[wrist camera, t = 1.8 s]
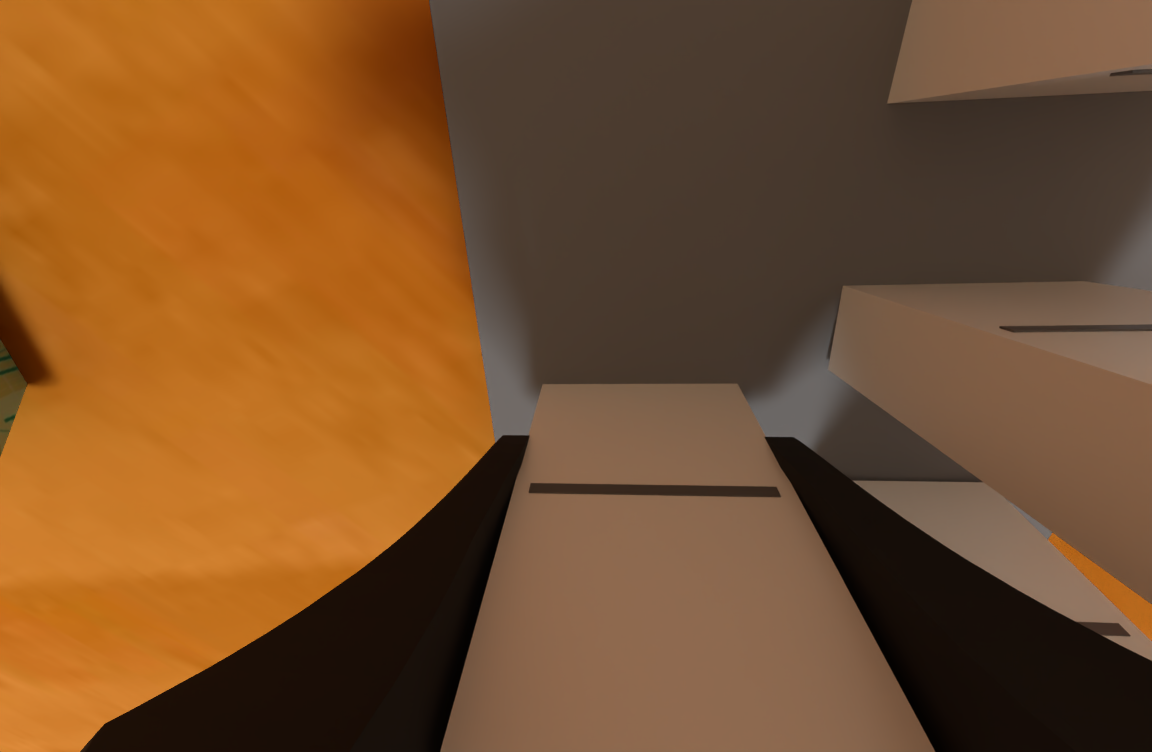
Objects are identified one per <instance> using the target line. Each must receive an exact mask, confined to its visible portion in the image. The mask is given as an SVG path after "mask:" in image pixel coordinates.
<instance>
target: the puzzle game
mask: <svg viewBox="0 0 1152 752" xmlns="http://www.w3.org/2000/svg"><path fill="white" fill-rule="evenodd" d="M26 386H27V383H26V381H25V379H24V378H23V376H22V374H21V373H20V371H19V369H18V368H17V366H16V364H15V363H14V361H13V359H12V358H11V356H10V354H9V353H8V351H7V350H6V348H5V346H4V345H3V343H2V341H1V340H0V456H1V453H2V451H3V448H4V445H5V443H6V440H7V437H8V435H9V432H10V429H11V427H12V424H13V421H14V419H15V416H16V413H17V410H18V408H19V405H20V402H21V400H22V397H23V394H24V392H25V389H26Z"/></svg>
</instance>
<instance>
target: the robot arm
mask: <svg viewBox="0 0 1152 752" xmlns="http://www.w3.org/2000/svg"><path fill="white" fill-rule="evenodd" d="M529 436H530V435H503V436H502V437H501V438H499V439H498V441H497V442H496V443H495V444H494V445H493V446H492V447H491V448H490V449H489V450H488V451H487V453H486V454H485V455H484V456H483V457H482V458H481V459H480V460H479V461H478V463H477V464H476V465H475V466H474V467H473V468H472V469H471V470H470V471H469V472H468V473H467V474H466V475H465V476H464V478H463V479H462V480H461V481H460V482H459V483H458V484H457V485H456V486H455V487H454V488H453V489H452V490H451V491H450V492H449V493H448V494H447V495H446V496H445V497H444V498H443V499H442V500H441V501H440V502H439V503H438V504H437V505H436V506H435V507H434V508H433V509H432V510H430V511H429V512H428V513H427V514H426V515H425V516H424V517H423V518H422V519H421V520H420V521H419V522H418V523H417V524H416V525H414V526H413V527H412V528H411V529H410V530H409V531H408V532H407V533H405V534H404V535H403V536H402V537H401V538H400V539H399V540H397V541H396V542H395V543H394V544H393V545H391V546H390V547H389V548H388V549H386V550H385V551H384V552H383V553H381V554H380V555H379V556H378V557H376V558H375V559H374V560H373V561H371V562H370V563H369V564H367V565H366V566H365V567H364V568H362V569H361V570H360V571H358V572H357V573H355V574H354V575H353V576H351V577H350V578H348V579H347V580H345V581H344V582H343V583H341V584H340V585H338V586H337V587H335V588H334V589H333V590H331V591H330V592H328V593H327V594H325V595H324V596H323V597H321V598H320V599H318V600H317V601H315V602H314V603H313V604H311V605H310V606H308V607H307V608H305V609H304V610H302V611H301V612H299V613H298V614H296V615H295V616H293V617H292V618H290V619H288V620H287V621H285V622H284V623H282V624H281V625H279V626H277V627H276V628H274V629H273V630H271V631H270V632H268V633H266V634H265V635H263V636H261V637H260V638H258V639H256V640H255V641H253V642H251V643H250V644H248V645H247V646H245V647H243V648H242V649H240V650H238V651H237V652H235V653H233V654H232V655H230V656H228V657H226V658H225V659H223V660H221V661H219V662H218V663H216V664H214V665H213V666H211V667H209V668H207V669H206V670H204V671H202V672H200V673H198V674H196V675H195V676H193V677H191V678H189V679H187V680H185V681H184V682H182V683H180V684H178V685H176V686H174V687H173V688H171V689H169V690H167V691H165V692H163V693H162V694H160V695H158V696H156V697H154V698H152V699H151V700H149V701H147V702H145V703H143V704H141V705H140V706H138V707H136V708H134V709H132V710H130V711H129V712H127V713H125V714H123V715H121V716H119V717H117V718H115V719H113V720H111V721H109V722H107V723H105V724H104V725H103V726H102V728H101V729H100V730H99V731H98V732H97V733H96V734H95V735H94V736H93V738H92V739H91V740H90V741H89V742H88V743H87V744H86V746H85V747H84V748H83V749H82V750H81V751H80V752H440V750H441V747H442V743H443V740H444V736H445V733H446V729H447V725H448V722H449V718H450V715H451V711H452V707H453V704H454V700H455V697H456V693H457V690H458V686H459V682H460V679H461V675H462V672H463V668H464V664H465V661H466V657H467V654H468V650H469V646H470V643H471V639H472V636H473V632H474V629H475V625H476V621H477V618H478V614H479V611H480V607H481V603H482V600H483V596H484V593H485V589H486V585H487V582H488V578H489V575H490V571H491V568H492V564H493V560H494V557H495V553H496V550H497V546H498V542H499V539H500V535H501V532H502V528H503V525H504V521H505V517H506V514H507V510H508V507H509V503H510V499H511V496H512V492H513V489H514V485H515V481H516V478H517V475H518V472H519V470H520V468H521V465H522V462H523V458H524V454H525V451H526V447H527V443H528V440H529ZM765 439H766V441H767V443H768V445H769V447H770V449H771V451H772V452H773V454H774V456H775V458H776V460H777V462H778V464H779V466H780V467H781V469H782V471H783V472H784V474H785V475H786V476H787V478H788V479H789V481H790V482H791V484H792V486H793V488H794V490H795V492H796V494H797V495H798V497H799V499H800V501H801V503H802V505H803V507H804V508H805V510H806V512H807V514H808V516H809V518H810V520H811V521H812V523H813V525H814V527H815V529H816V531H817V533H818V535H819V536H820V538H821V540H822V542H823V544H824V546H825V548H826V549H827V551H828V553H829V555H830V557H831V559H832V561H833V562H834V564H835V566H836V568H837V570H838V572H839V574H840V575H841V577H842V579H843V581H844V583H845V585H846V587H847V588H848V590H849V592H850V594H851V596H852V598H853V600H854V602H855V603H856V605H857V607H858V609H859V611H860V613H861V615H862V616H863V618H864V620H865V622H866V624H867V626H868V628H869V629H870V631H871V633H872V635H873V637H874V639H875V641H876V642H877V644H878V646H879V648H880V650H881V652H882V654H883V655H884V657H885V659H886V661H887V663H888V665H889V667H890V668H891V670H892V672H893V674H894V676H895V678H896V680H897V682H898V683H899V685H900V687H901V689H902V691H903V693H904V695H905V696H906V698H907V700H908V702H909V704H910V706H911V708H912V709H913V711H914V713H915V715H916V717H917V719H918V721H919V722H920V724H921V726H922V728H923V730H924V732H925V734H926V735H927V737H928V739H929V741H930V743H931V745H932V747H933V749H934V750H935V752H1152V661H1151V660H1149V659H1147V658H1145V657H1143V656H1141V655H1139V654H1137V653H1135V652H1133V651H1131V650H1129V649H1127V648H1125V647H1123V646H1121V645H1119V644H1117V643H1115V642H1113V641H1111V640H1110V639H1108V638H1106V637H1104V636H1102V635H1100V634H1098V633H1096V632H1094V631H1093V630H1091V629H1089V628H1087V627H1085V626H1083V625H1081V624H1079V623H1077V622H1076V621H1074V620H1072V619H1070V618H1068V617H1066V616H1064V615H1062V614H1060V613H1059V612H1057V611H1055V610H1053V609H1051V608H1049V607H1047V606H1046V605H1044V604H1042V603H1040V602H1038V601H1037V600H1035V599H1033V598H1031V597H1030V596H1028V595H1026V594H1024V593H1022V592H1021V591H1019V590H1017V589H1015V588H1014V587H1012V586H1010V585H1009V584H1007V583H1005V582H1004V581H1002V580H1000V579H999V578H997V577H995V576H994V575H992V574H990V573H989V572H987V571H985V570H984V569H982V568H980V567H978V566H977V565H975V564H973V563H972V562H970V561H968V560H967V559H965V558H964V557H962V556H960V555H959V554H957V553H956V552H954V551H952V550H951V549H949V548H948V547H946V546H945V545H943V544H942V543H940V542H939V541H937V540H936V539H934V538H933V537H931V536H930V535H928V534H927V533H925V532H924V531H922V530H921V529H919V528H918V527H916V526H915V525H913V524H912V523H910V522H909V521H907V520H906V519H904V518H903V517H902V516H900V515H899V514H897V513H896V512H895V511H893V510H892V509H890V508H889V507H887V506H886V505H885V504H883V503H882V502H881V501H879V500H878V499H876V498H875V497H874V496H872V495H871V494H870V493H868V492H867V491H866V490H864V489H863V488H861V487H860V486H859V485H857V484H856V483H855V482H853V481H852V480H851V479H849V478H848V477H847V476H846V475H844V474H843V473H842V472H840V471H839V470H838V469H836V468H835V467H834V466H832V465H831V464H830V463H828V462H827V461H826V460H825V459H823V458H822V457H821V456H819V455H818V454H817V453H815V452H814V451H813V450H811V449H810V448H809V447H807V446H806V445H805V444H803V443H802V442H800V441H799V440H797V439H796V438H795V437H765Z"/></svg>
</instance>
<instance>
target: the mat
mask: <svg viewBox="0 0 1152 752" xmlns="http://www.w3.org/2000/svg"><path fill="white" fill-rule="evenodd" d="M429 3H430V10H431V17H432V23H433V30H434V37H435V43H436V50H437V57H438V63H439V70H440V77H441V83H442V90H443V97H444V103H445V110H446V117H447V123H448V130H449V137H450V143H451V150H452V157H453V163H454V170H455V177H456V183H457V190H458V196H459V203H460V210H461V216H462V223H463V230H464V236H465V243H466V250H467V256H468V263H469V270H470V276H471V283H472V290H473V296H474V303H475V310H476V316H477V323H478V330H479V336H480V343H481V350H482V356H483V363H484V370H485V376H486V383H487V390H488V396H489V403H490V410H491V416H492V423H493V430H494V436H495V443H496V442H497V441H498V439H499V438H501V437H502V436H503V435H529V431H530V428H531V424H532V420H533V417H534V413H535V410H536V406H537V403H538V399H539V395H540V392H541V388H542V385H543V384H738V386H739V388H740V389H741V391H742V393H743V395H744V397H745V399H746V401H747V402H748V404H749V406H750V408H751V410H752V412H753V414H754V415H755V417H756V419H757V421H758V423H759V425H760V427H761V428H762V430H763V432H764V434H765V436H766V437H795V438H796V439H797V440H799V441H800V442H802V443H803V444H805V445H806V446H807V447H809V448H810V449H811V450H813V451H814V452H815V453H817V454H818V455H819V456H821V457H822V458H823V459H825V460H826V461H827V462H828V463H830V464H831V465H832V466H834V467H835V468H836V469H838V470H839V471H840V472H842V473H843V474H844V475H846V476H847V477H848V478H849V479H851V480H852V481H925V482H982V481H981V480H980V479H978V478H977V477H976V476H974V475H973V474H971V473H970V472H969V471H967V470H966V469H965V468H963V467H962V466H960V465H959V464H958V463H956V462H955V461H954V460H952V459H951V458H949V457H948V456H947V455H945V454H944V453H942V452H941V451H940V450H938V449H937V448H936V447H934V446H933V445H931V444H930V443H929V442H927V441H926V440H925V439H923V438H922V437H920V436H919V435H918V434H916V433H915V432H914V431H912V430H911V429H909V428H908V427H907V426H905V425H904V424H902V423H901V422H900V421H898V420H897V419H896V418H894V417H893V416H891V415H890V414H889V413H887V412H886V411H885V410H883V409H882V408H880V407H879V406H878V405H876V404H875V403H874V402H872V401H871V400H869V399H868V398H867V397H865V396H864V395H862V394H861V393H860V392H858V391H857V390H856V389H854V388H853V387H851V386H850V385H849V384H847V383H846V382H845V381H843V380H842V379H840V378H839V377H838V376H836V375H835V374H834V373H832V372H831V371H829V370H828V366H829V361H830V355H831V350H832V344H833V338H834V333H835V327H836V321H837V316H838V310H839V304H840V299H841V293H842V288H843V286H853V285H906V284H959V283H1012V282H1065V281H1086V282H1093V283H1100V284H1107V285H1114V286H1120V287H1127V288H1134V289H1141V290H1147V291H1152V91H1136V92H1115V93H1095V94H1074V95H1054V96H1033V97H1013V98H992V99H972V100H951V101H931V102H910V103H890V104H887V102H888V98H889V94H890V90H891V85H892V81H893V77H894V73H895V69H896V65H897V61H898V57H899V53H900V48H901V44H902V40H903V36H904V32H905V28H906V24H907V20H908V16H909V11H910V7H911V3H912V0H429ZM1004 498H1005V497H1004ZM1005 499H1006V498H1005ZM1006 500H1007V499H1006ZM1007 501H1008V502H1009V503H1010V504H1012V505H1013V506H1014V507H1015V508H1016V509H1017V510H1018V511H1019V512H1020V513H1021V514H1022V515H1023V516H1024V517H1025V518H1026V519H1027V520H1028V521H1029V522H1030V523H1031V524H1032V525H1033V526H1034V527H1035V528H1036V529H1037V530H1038V531H1039V532H1040V533H1041V534H1042V535H1043V536H1044V537H1045V538H1046V539H1047V540H1048V538H1049V537H1050V535H1051V534H1052V532H1051V531H1050V530H1049V529H1047V528H1046V527H1045V526H1043V525H1042V524H1040V523H1039V522H1038V521H1036V520H1035V519H1033V518H1032V517H1031V516H1029V515H1028V514H1027V513H1025V512H1024V511H1022V510H1021V509H1020V508H1018V507H1017V506H1016V505H1014V504H1013V503H1011V502H1010V501H1009V500H1007Z"/></svg>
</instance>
